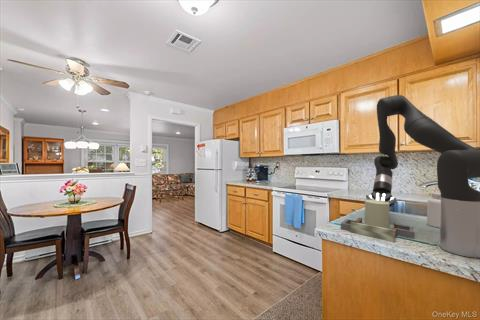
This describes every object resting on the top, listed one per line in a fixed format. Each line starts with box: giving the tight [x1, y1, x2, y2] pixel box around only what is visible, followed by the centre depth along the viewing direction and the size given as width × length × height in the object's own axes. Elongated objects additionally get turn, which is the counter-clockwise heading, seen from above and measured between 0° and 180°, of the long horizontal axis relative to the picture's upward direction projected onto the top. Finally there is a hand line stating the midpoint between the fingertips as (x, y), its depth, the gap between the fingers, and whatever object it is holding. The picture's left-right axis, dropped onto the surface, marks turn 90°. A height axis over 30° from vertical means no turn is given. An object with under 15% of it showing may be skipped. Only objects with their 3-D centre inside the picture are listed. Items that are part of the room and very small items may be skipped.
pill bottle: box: [426, 192, 441, 229], centre depth 93 cm, size 8×8×15 cm
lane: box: [349, 217, 399, 243], centre depth 85 cm, size 14×17×4 cm
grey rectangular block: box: [364, 199, 390, 229], centre depth 89 cm, size 9×9×12 cm
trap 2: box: [396, 223, 415, 239], centre depth 82 cm, size 5×8×2 cm, turn 139°
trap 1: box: [340, 218, 357, 232], centre depth 89 cm, size 4×9×2 cm, turn 139°
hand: (378, 214), depth 94 cm, fingers closed
